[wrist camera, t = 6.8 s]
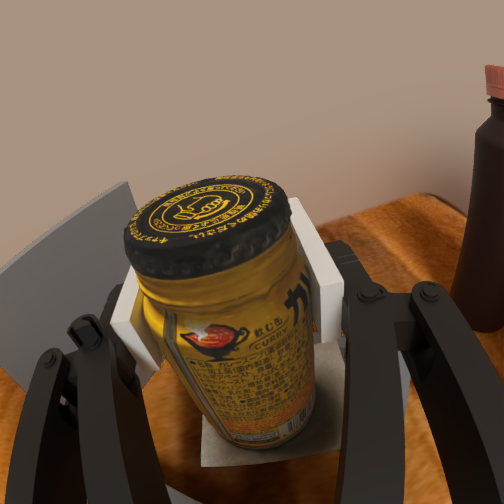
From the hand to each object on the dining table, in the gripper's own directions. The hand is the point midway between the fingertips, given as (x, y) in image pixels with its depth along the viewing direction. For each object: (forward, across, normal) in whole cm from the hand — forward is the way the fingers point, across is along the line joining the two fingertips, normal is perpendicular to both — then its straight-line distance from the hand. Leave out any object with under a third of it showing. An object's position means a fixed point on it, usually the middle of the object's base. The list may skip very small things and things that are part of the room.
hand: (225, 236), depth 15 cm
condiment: (-5, +1, -8) cm, 10 cm away
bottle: (0, +20, -12) cm, 23 cm away
